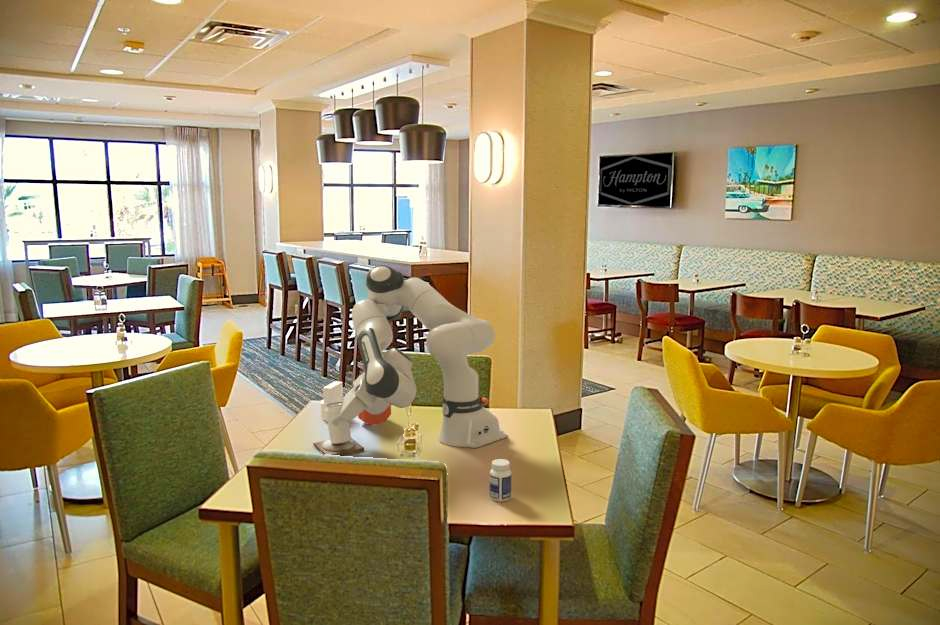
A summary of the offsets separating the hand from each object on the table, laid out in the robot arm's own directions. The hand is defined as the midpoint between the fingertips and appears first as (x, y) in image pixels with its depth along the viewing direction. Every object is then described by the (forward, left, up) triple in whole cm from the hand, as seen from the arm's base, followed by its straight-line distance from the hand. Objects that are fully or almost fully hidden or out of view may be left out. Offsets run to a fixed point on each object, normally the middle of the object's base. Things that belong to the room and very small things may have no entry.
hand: (335, 419), depth 211 cm
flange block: (-1, 0, -10) cm, 10 cm away
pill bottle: (-24, +55, -10) cm, 61 cm away
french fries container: (-21, -16, -10) cm, 28 cm away
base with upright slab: (-11, -29, -10) cm, 32 cm away
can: (-2, 0, -8) cm, 8 cm away
